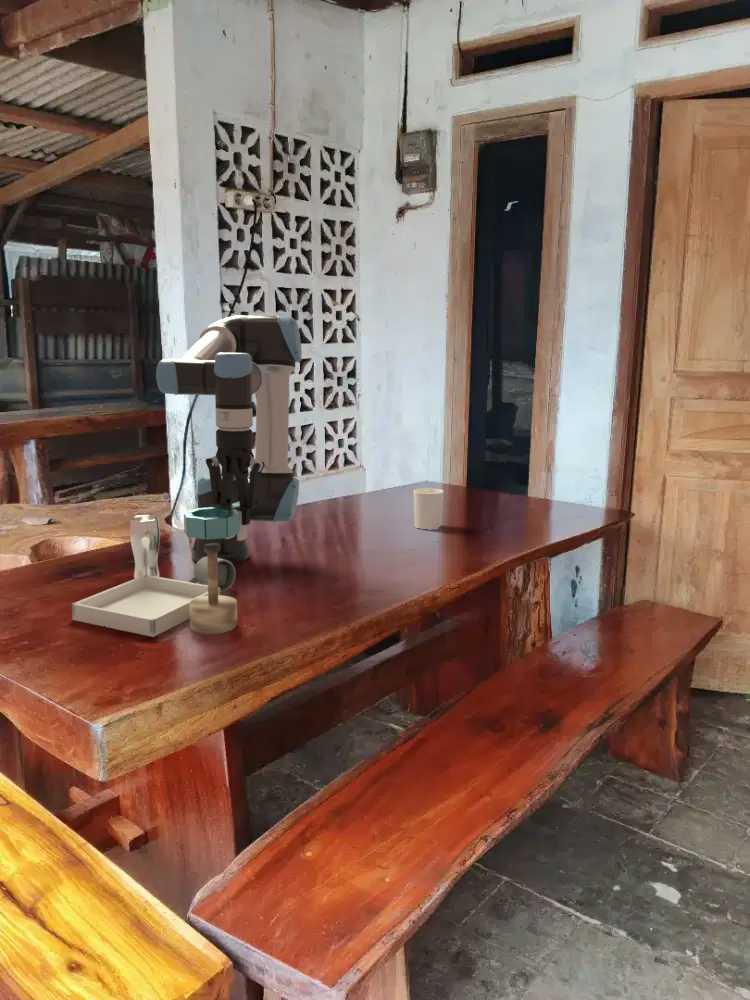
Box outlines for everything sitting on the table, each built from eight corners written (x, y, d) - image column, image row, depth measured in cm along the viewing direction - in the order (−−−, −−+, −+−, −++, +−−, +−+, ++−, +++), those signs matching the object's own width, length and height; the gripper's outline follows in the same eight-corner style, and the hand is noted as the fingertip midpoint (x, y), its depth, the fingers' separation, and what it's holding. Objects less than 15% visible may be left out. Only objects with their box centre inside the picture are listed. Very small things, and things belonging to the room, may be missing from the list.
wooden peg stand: (208, 614, 166) (206, 537, 162) (246, 621, 162) (245, 542, 158) (180, 629, 157) (177, 548, 154) (219, 637, 153) (218, 554, 150)
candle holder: (441, 531, 243) (442, 494, 240) (410, 529, 244) (411, 492, 242) (443, 524, 252) (445, 488, 250) (413, 522, 254) (414, 487, 251)
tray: (145, 588, 182) (145, 574, 181) (220, 602, 173) (220, 587, 173) (72, 619, 161) (71, 603, 160) (153, 636, 153) (152, 620, 152)
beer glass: (167, 575, 192) (165, 517, 189) (146, 582, 186) (143, 522, 183) (147, 571, 195) (145, 513, 192) (125, 578, 189) (123, 518, 186)
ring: (218, 541, 149) (218, 521, 148) (174, 534, 153) (174, 515, 152) (264, 523, 164) (264, 504, 163) (223, 517, 168) (223, 499, 167)
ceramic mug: (219, 580, 189) (217, 550, 188) (236, 588, 183) (235, 557, 182) (179, 589, 182) (178, 558, 181) (196, 598, 176) (195, 566, 175)
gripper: (192, 427, 159) (195, 537, 164) (256, 433, 153) (257, 547, 158) (213, 424, 165) (216, 530, 170) (276, 429, 159) (276, 538, 164)
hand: (236, 538), depth 164 cm, fingers closed on ring, 2 cm apart
